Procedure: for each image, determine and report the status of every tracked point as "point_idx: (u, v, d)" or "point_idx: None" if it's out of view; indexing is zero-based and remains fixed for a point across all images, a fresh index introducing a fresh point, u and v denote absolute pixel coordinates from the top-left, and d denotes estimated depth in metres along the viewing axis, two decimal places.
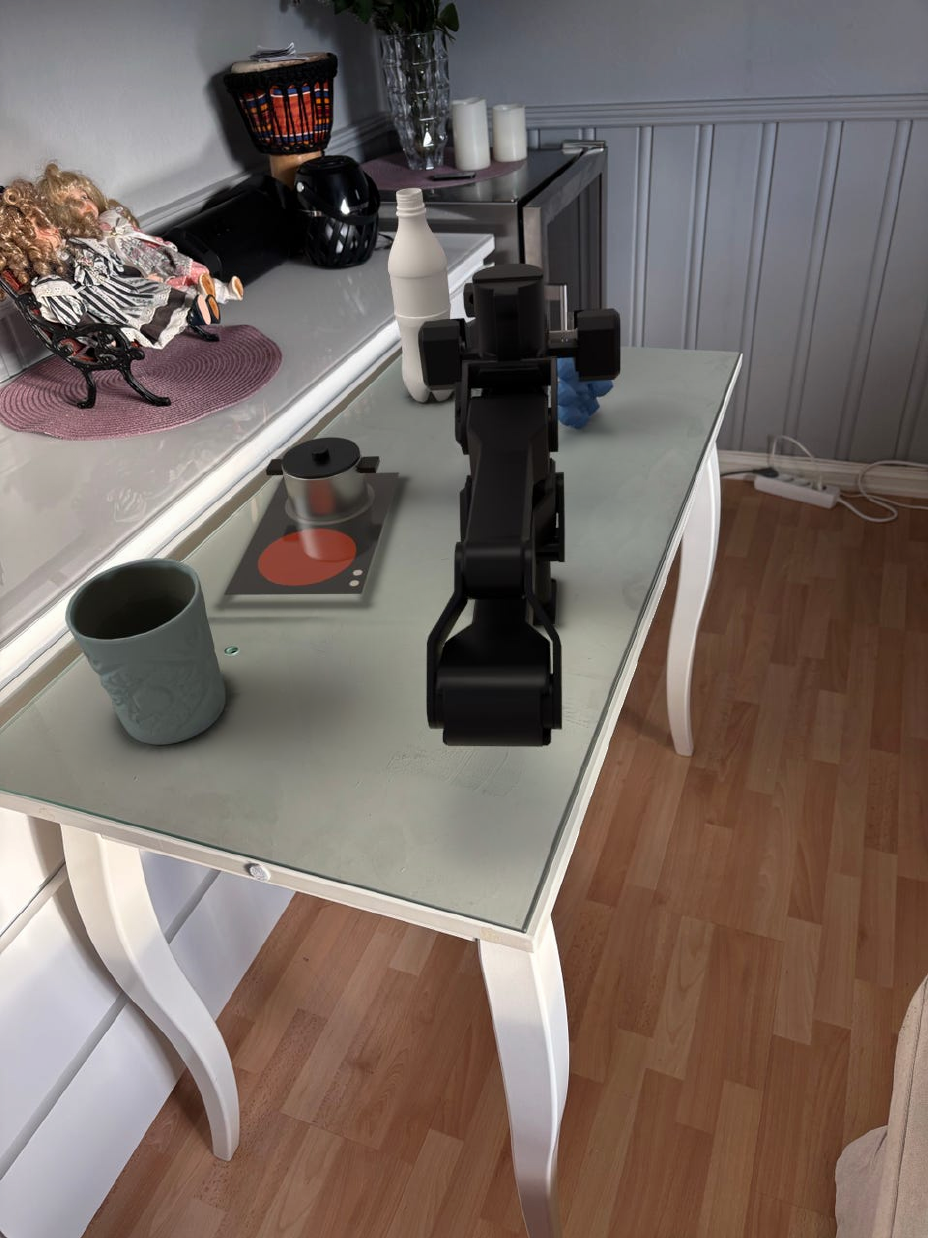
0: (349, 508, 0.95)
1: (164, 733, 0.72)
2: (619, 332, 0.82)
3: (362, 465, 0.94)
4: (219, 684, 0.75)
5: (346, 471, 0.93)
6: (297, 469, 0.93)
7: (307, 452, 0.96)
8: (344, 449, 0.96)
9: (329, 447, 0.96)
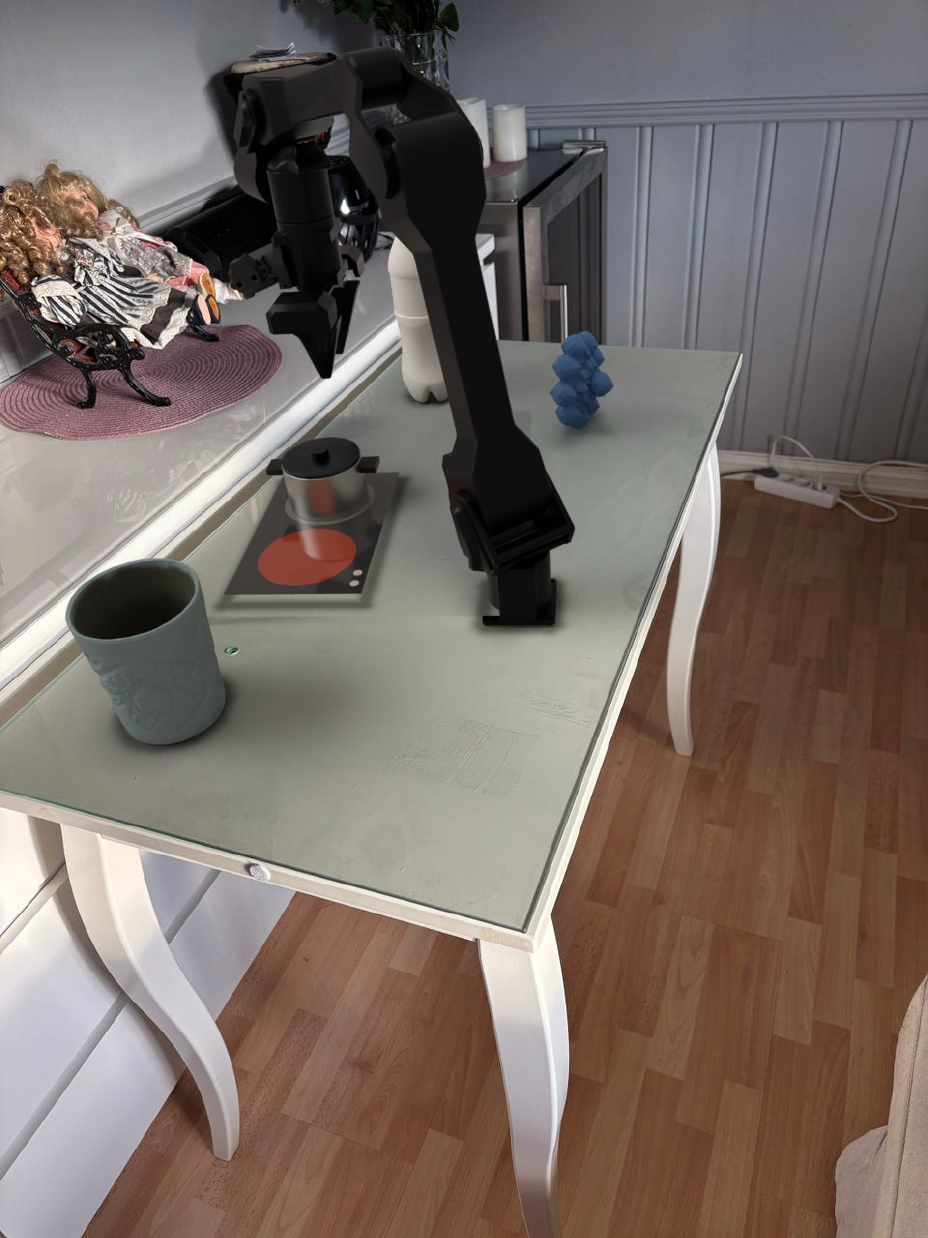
0: (349, 508, 0.95)
1: (164, 733, 0.72)
2: None
3: (362, 465, 0.94)
4: (219, 684, 0.75)
5: (346, 471, 0.93)
6: (297, 469, 0.93)
7: (307, 452, 0.96)
8: (344, 449, 0.96)
9: (329, 447, 0.96)
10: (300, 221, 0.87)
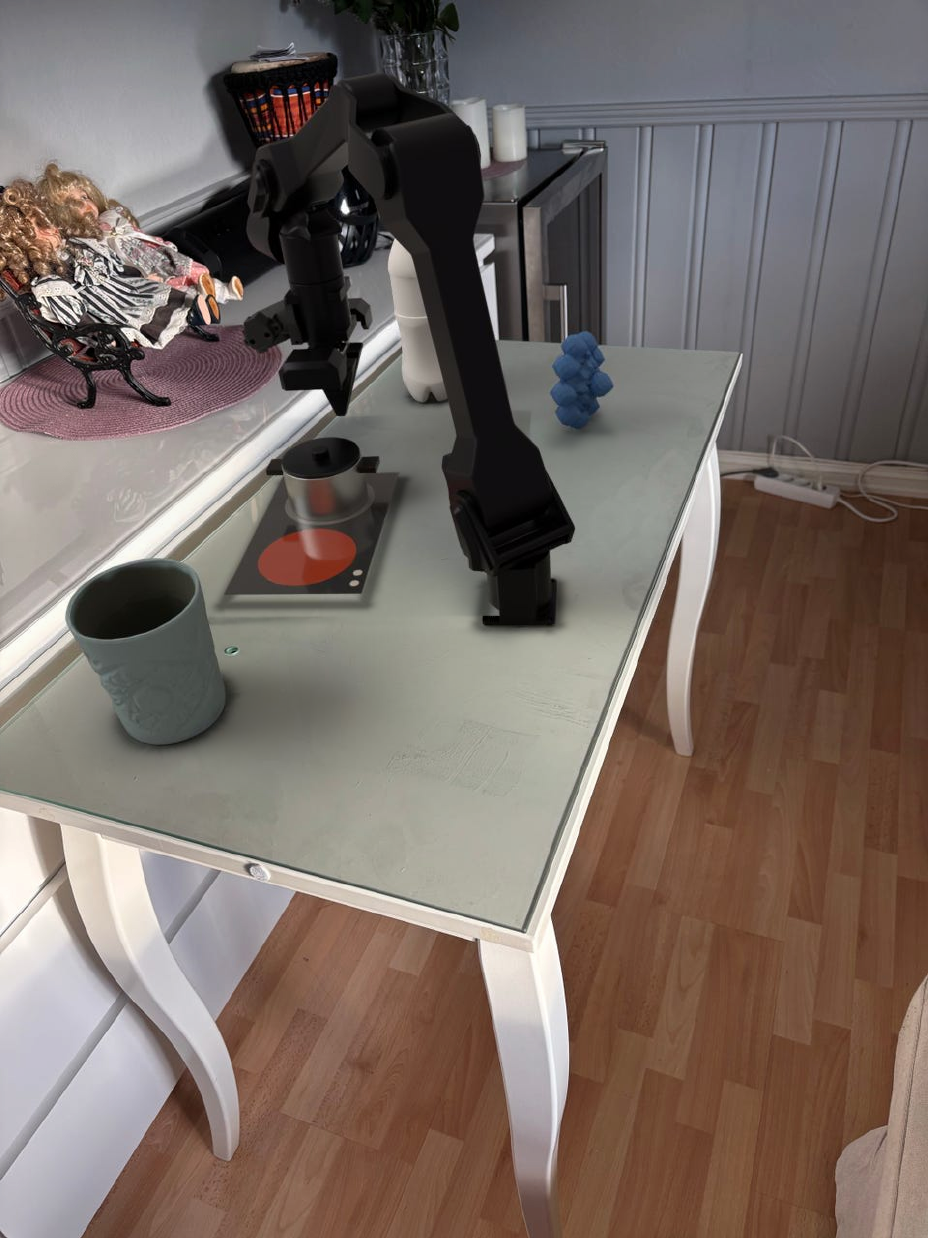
0: (349, 508, 0.95)
1: (164, 733, 0.72)
2: None
3: (362, 465, 0.94)
4: (219, 684, 0.75)
5: (346, 471, 0.93)
6: (297, 469, 0.93)
7: (307, 452, 0.96)
8: (344, 449, 0.96)
9: (329, 447, 0.96)
10: (311, 282, 0.91)
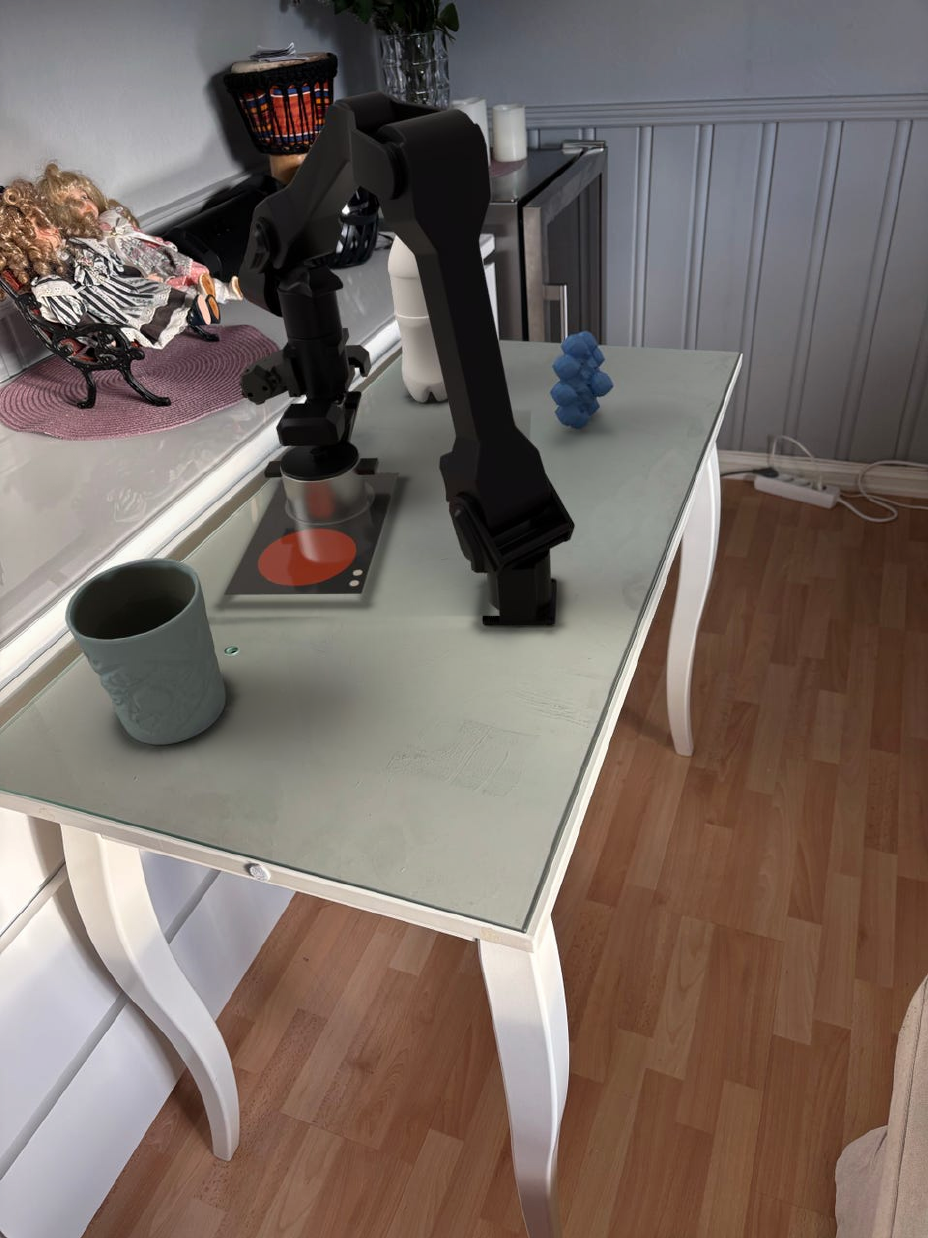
0: (348, 510, 0.95)
1: (164, 733, 0.72)
2: None
3: (361, 467, 0.94)
4: (219, 684, 0.75)
5: (345, 473, 0.93)
6: (296, 471, 0.93)
7: (305, 454, 0.96)
8: (343, 451, 0.95)
9: (327, 449, 0.96)
10: (312, 337, 0.90)
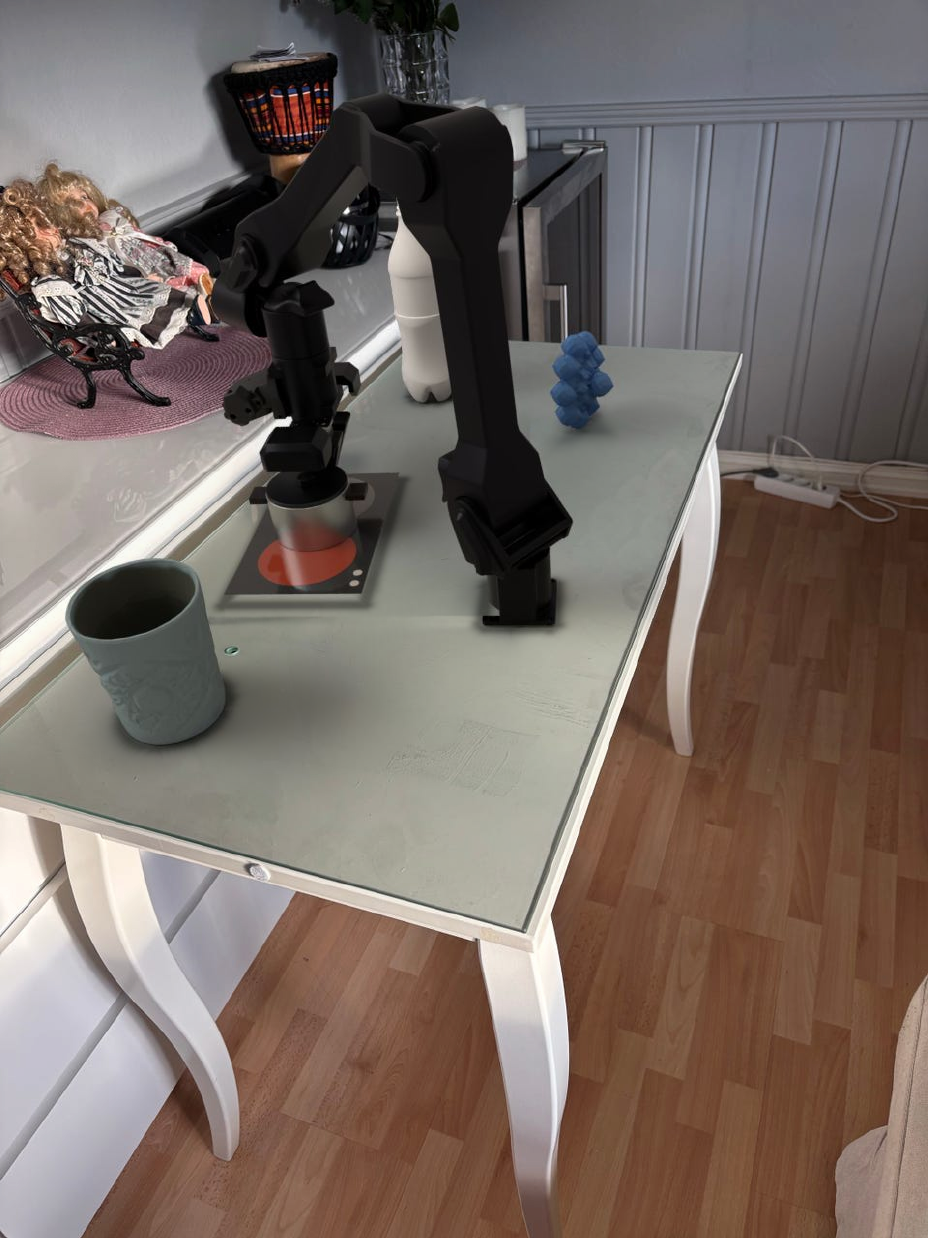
0: (338, 537, 0.91)
1: (164, 733, 0.72)
2: None
3: (350, 492, 0.90)
4: (219, 684, 0.75)
5: (334, 499, 0.89)
6: (282, 498, 0.89)
7: (292, 479, 0.92)
8: (331, 476, 0.91)
9: (314, 473, 0.92)
10: (301, 357, 0.86)
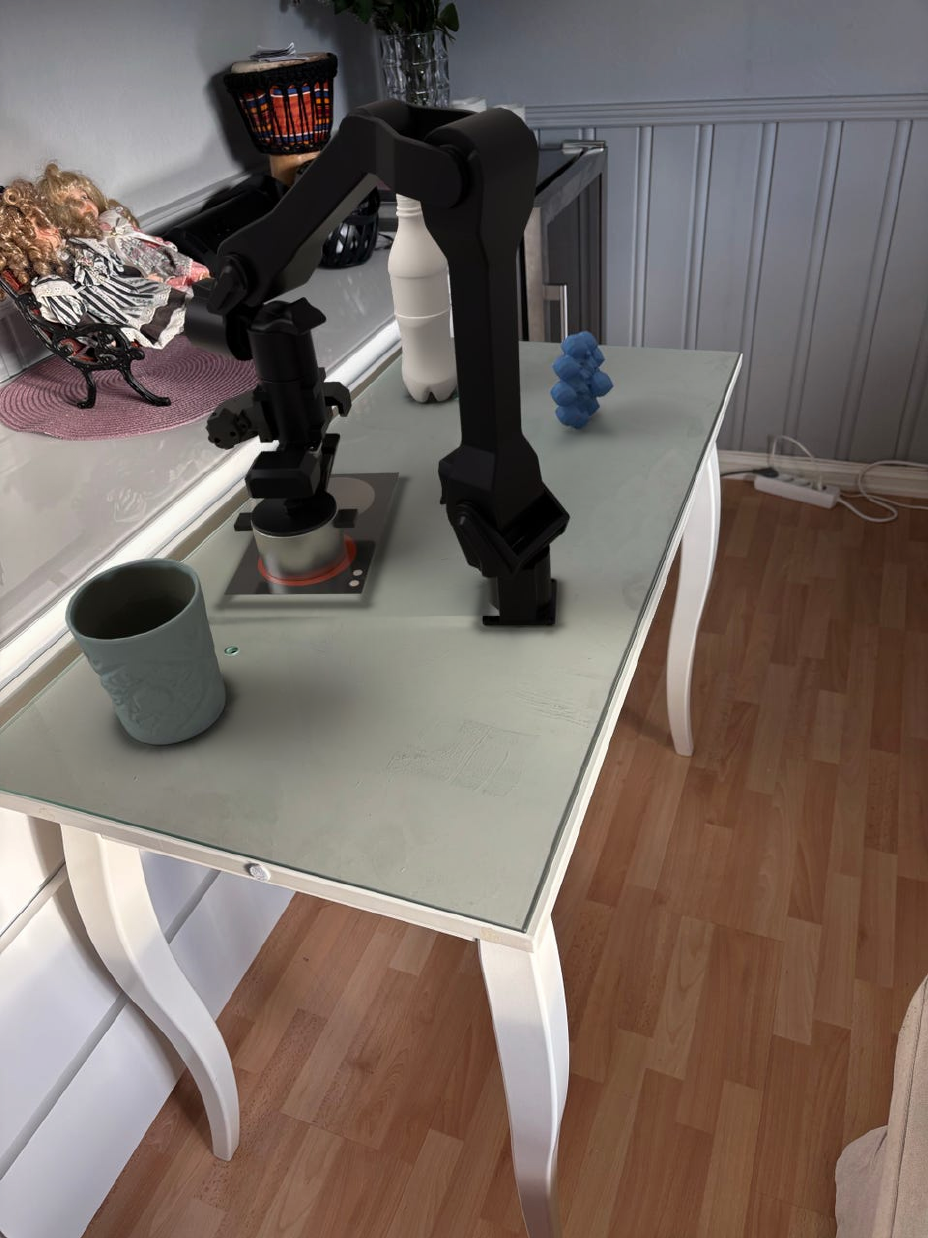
0: (326, 566, 0.87)
1: (164, 733, 0.72)
2: None
3: (339, 519, 0.86)
4: (219, 684, 0.75)
5: (321, 527, 0.85)
6: (268, 525, 0.85)
7: (279, 505, 0.88)
8: (319, 501, 0.88)
9: (302, 499, 0.88)
10: (293, 378, 0.82)
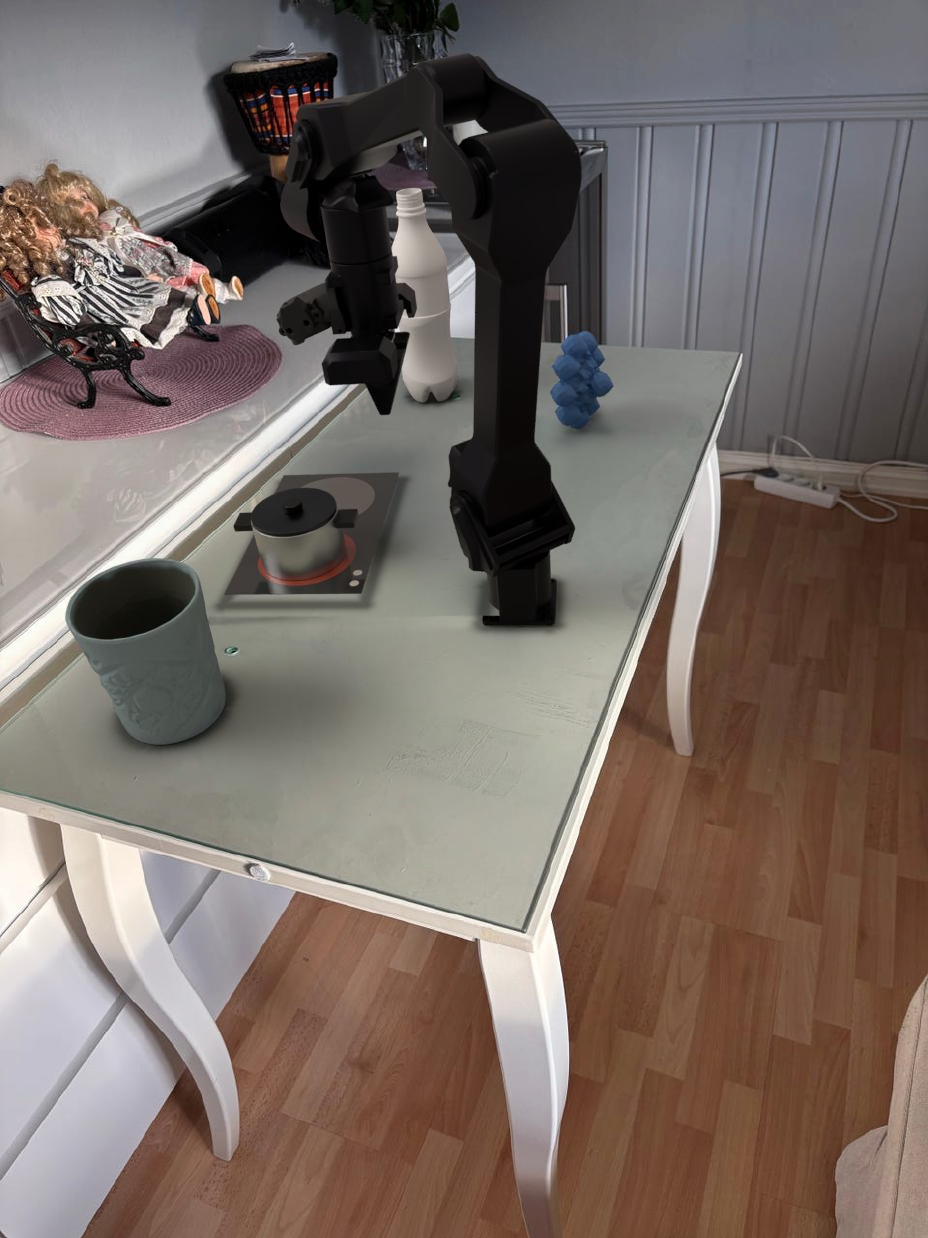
0: (326, 566, 0.87)
1: (164, 733, 0.72)
2: None
3: (339, 520, 0.86)
4: (219, 684, 0.75)
5: (321, 527, 0.85)
6: (268, 526, 0.85)
7: (279, 505, 0.88)
8: (319, 502, 0.88)
9: (302, 499, 0.88)
10: (357, 262, 0.80)
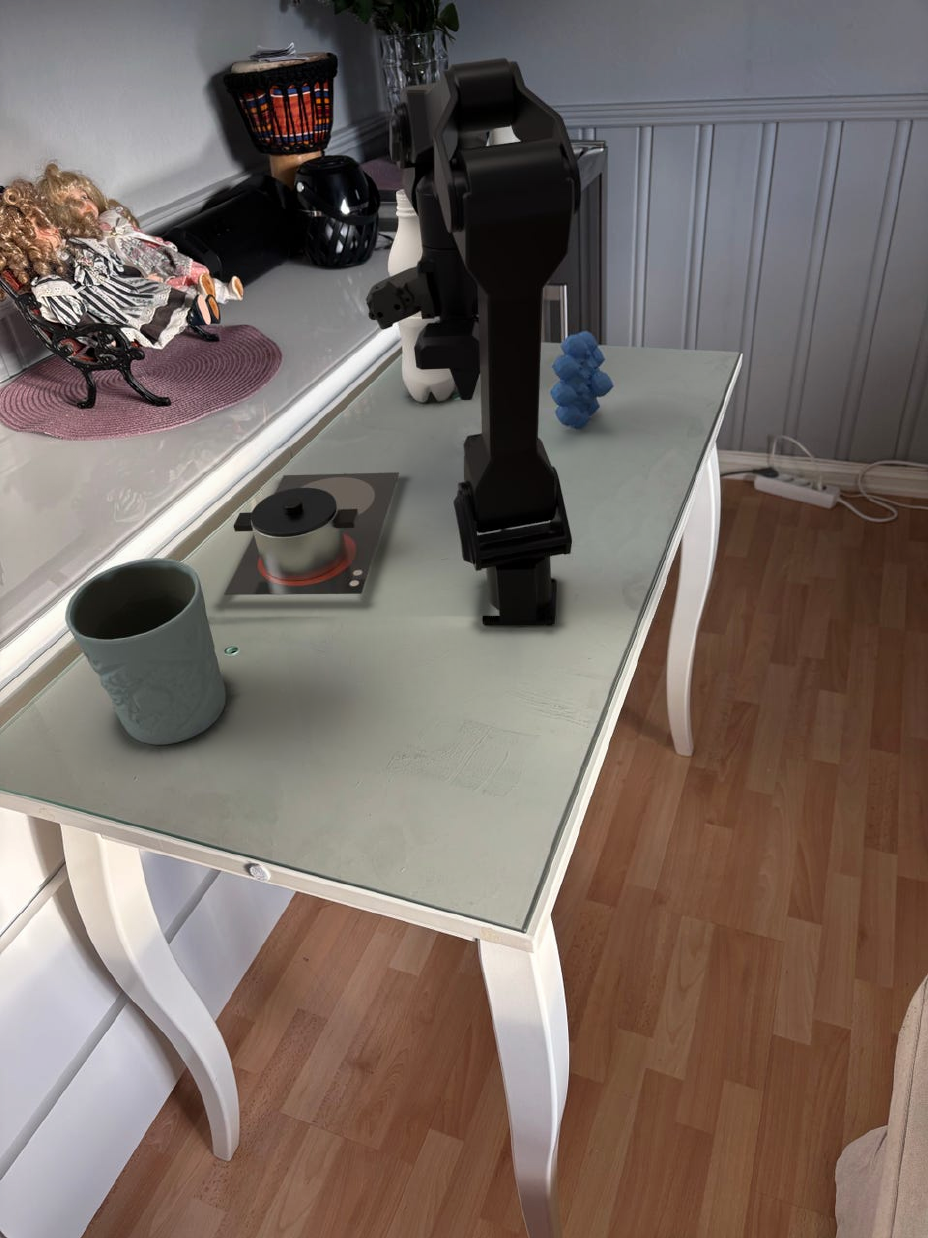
0: (326, 566, 0.87)
1: (164, 733, 0.72)
2: None
3: (339, 520, 0.86)
4: (219, 684, 0.75)
5: (321, 527, 0.85)
6: (268, 526, 0.85)
7: (279, 505, 0.88)
8: (319, 502, 0.88)
9: (302, 499, 0.88)
10: (440, 247, 0.81)
